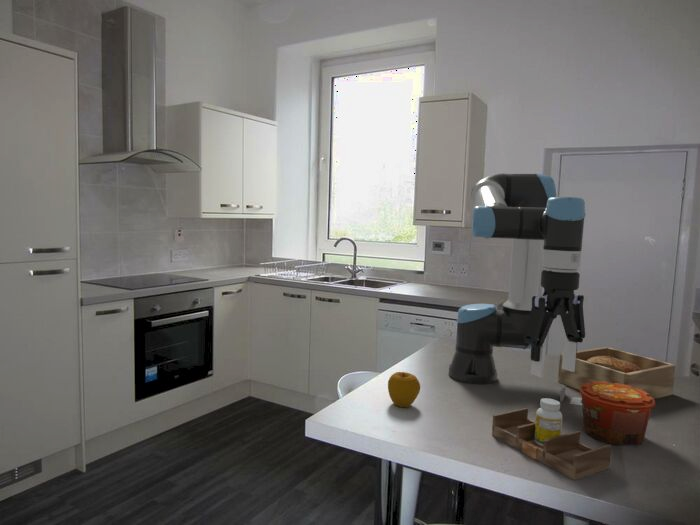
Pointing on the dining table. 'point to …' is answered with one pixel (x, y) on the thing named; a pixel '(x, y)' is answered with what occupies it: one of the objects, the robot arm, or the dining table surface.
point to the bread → (614, 364)
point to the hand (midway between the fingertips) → (552, 372)
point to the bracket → (573, 401)
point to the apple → (403, 388)
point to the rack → (551, 446)
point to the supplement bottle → (548, 421)
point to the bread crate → (650, 379)
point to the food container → (615, 412)
